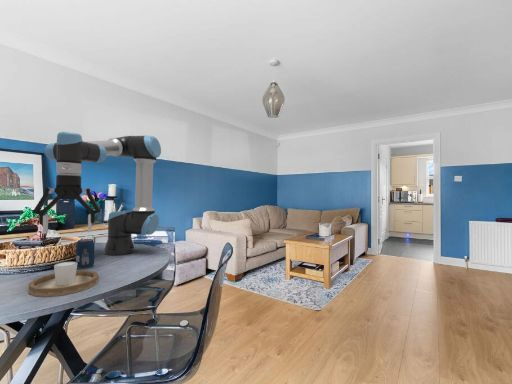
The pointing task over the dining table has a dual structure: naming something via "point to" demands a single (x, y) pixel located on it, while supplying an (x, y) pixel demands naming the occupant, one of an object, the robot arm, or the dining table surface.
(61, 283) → the shot glass
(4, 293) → the dining table surface
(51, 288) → the round tray
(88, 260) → the dark blue box
